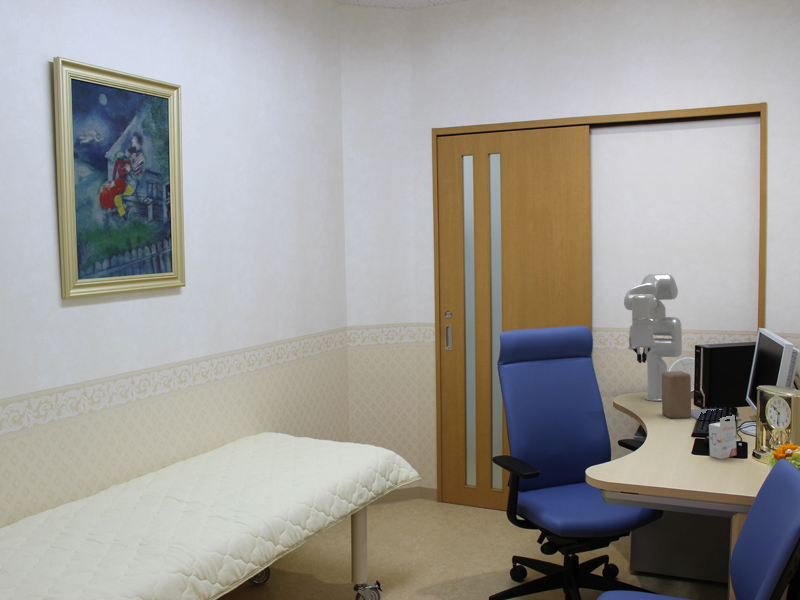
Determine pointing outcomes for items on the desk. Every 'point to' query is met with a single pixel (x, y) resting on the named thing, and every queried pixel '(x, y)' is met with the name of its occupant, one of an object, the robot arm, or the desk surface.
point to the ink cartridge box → (723, 438)
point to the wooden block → (676, 394)
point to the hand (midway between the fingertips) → (641, 362)
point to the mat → (696, 412)
